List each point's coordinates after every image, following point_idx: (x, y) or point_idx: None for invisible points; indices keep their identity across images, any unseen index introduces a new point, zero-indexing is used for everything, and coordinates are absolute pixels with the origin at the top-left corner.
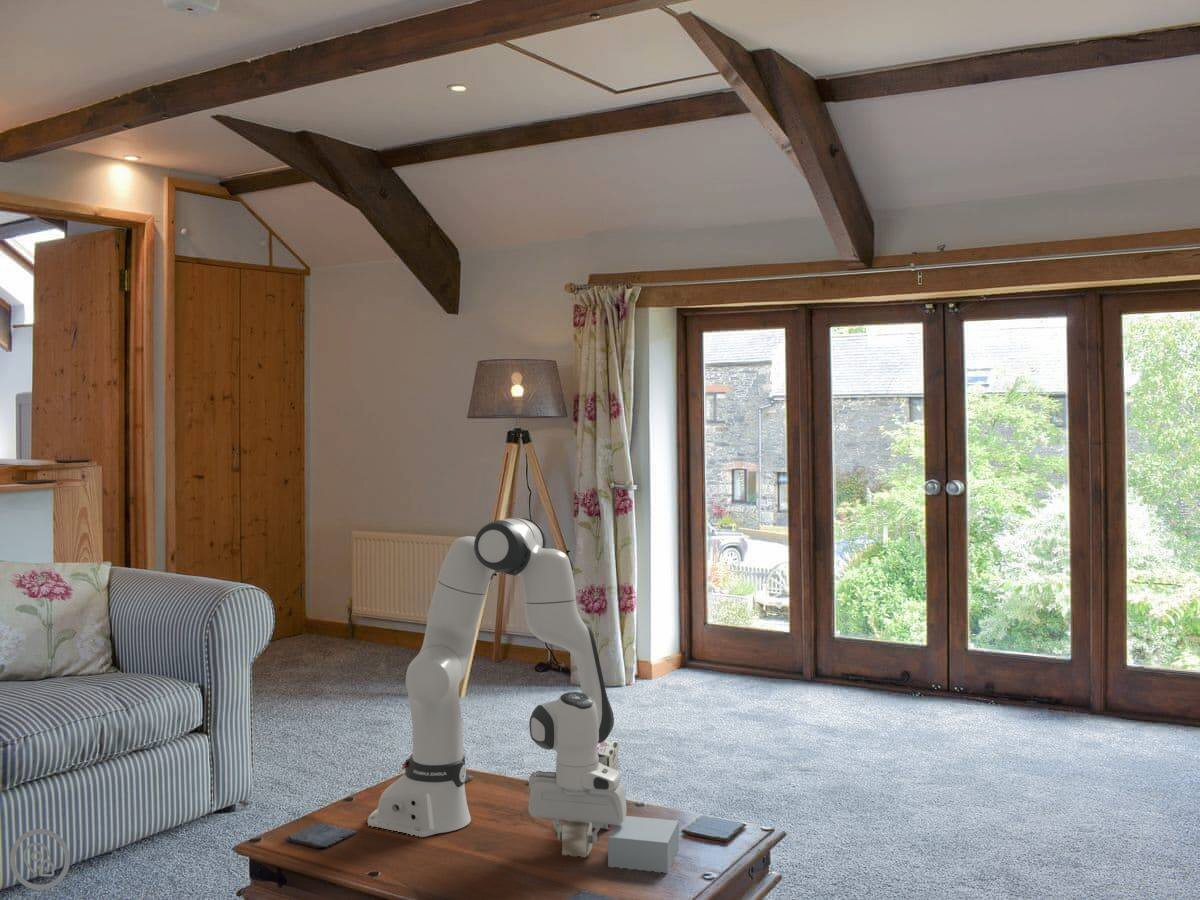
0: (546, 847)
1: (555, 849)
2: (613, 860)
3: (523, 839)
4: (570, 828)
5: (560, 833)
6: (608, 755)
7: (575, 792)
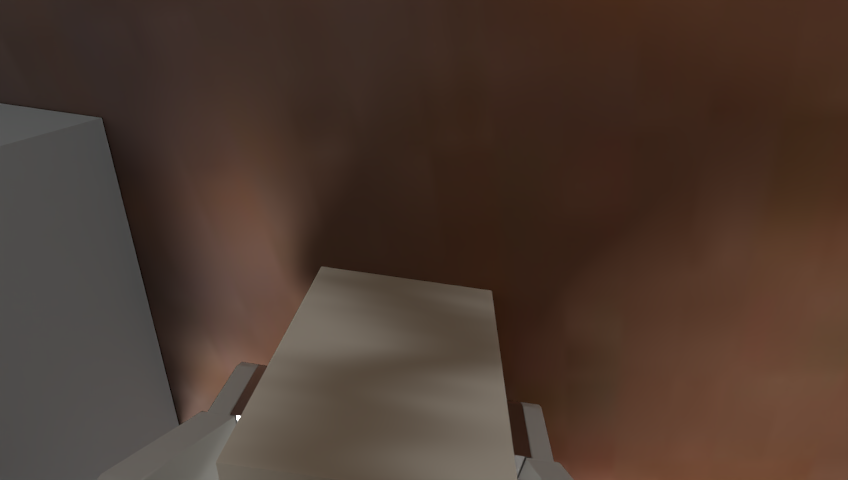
0: (602, 380)
1: (542, 359)
2: (1, 123)
3: (740, 460)
4: (413, 468)
5: (525, 447)
6: None
7: None
